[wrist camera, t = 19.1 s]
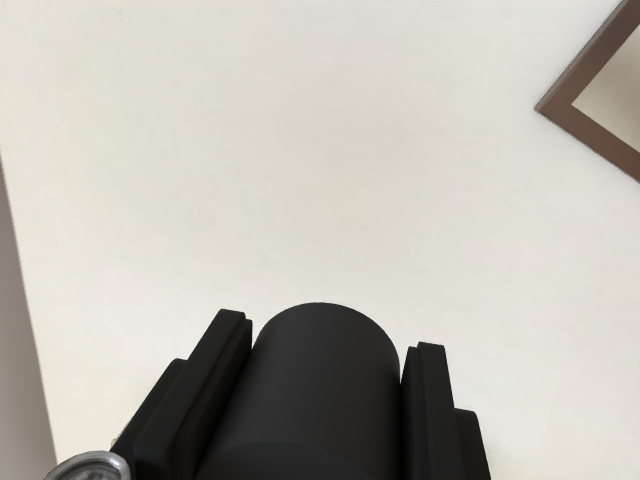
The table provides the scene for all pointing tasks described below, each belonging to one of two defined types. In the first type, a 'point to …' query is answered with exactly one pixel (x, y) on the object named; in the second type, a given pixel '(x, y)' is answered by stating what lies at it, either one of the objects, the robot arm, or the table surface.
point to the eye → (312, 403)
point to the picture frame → (603, 92)
